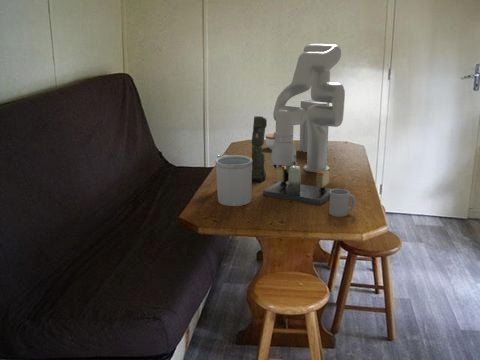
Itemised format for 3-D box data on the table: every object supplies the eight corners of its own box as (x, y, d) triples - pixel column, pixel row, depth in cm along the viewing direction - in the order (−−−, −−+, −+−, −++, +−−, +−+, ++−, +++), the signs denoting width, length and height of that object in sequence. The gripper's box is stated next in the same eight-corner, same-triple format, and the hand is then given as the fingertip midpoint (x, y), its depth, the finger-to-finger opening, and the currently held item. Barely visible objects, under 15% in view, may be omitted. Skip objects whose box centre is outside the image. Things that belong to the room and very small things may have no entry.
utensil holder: (240, 209, 220) (239, 166, 215) (209, 203, 228) (208, 161, 223) (259, 199, 232) (259, 157, 227) (229, 193, 240) (228, 153, 235)
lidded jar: (275, 152, 310) (275, 135, 307) (261, 148, 317) (261, 132, 314) (288, 148, 317) (288, 132, 314) (274, 145, 324) (274, 129, 321)
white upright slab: (301, 146, 322) (302, 97, 314) (327, 147, 319) (329, 98, 310) (297, 154, 304) (298, 102, 296) (325, 155, 301) (327, 103, 293)
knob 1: (284, 180, 248) (284, 162, 246) (290, 181, 247) (290, 163, 244) (276, 185, 241) (277, 167, 239) (282, 186, 240) (282, 167, 238)
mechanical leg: (262, 183, 250) (265, 115, 249) (246, 182, 252) (249, 115, 250) (267, 181, 264) (270, 117, 262) (252, 181, 265) (254, 117, 263)
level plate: (279, 185, 250) (279, 156, 246) (334, 193, 238) (336, 163, 234) (262, 195, 237) (263, 164, 233) (320, 204, 224) (322, 172, 221)
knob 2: (323, 186, 240) (323, 167, 237) (329, 187, 238) (329, 168, 236) (316, 191, 233) (316, 172, 231) (322, 192, 232) (322, 173, 229)
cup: (327, 210, 218) (328, 188, 215) (353, 210, 218) (355, 188, 215) (330, 217, 211) (331, 194, 208) (357, 217, 211) (358, 194, 208)
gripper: (263, 138, 239) (263, 179, 244) (298, 142, 231) (297, 185, 237) (271, 135, 245) (270, 175, 251) (305, 138, 238) (304, 180, 243)
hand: (283, 179), depth 244 cm, fingers closed on knob 1, 2 cm apart
